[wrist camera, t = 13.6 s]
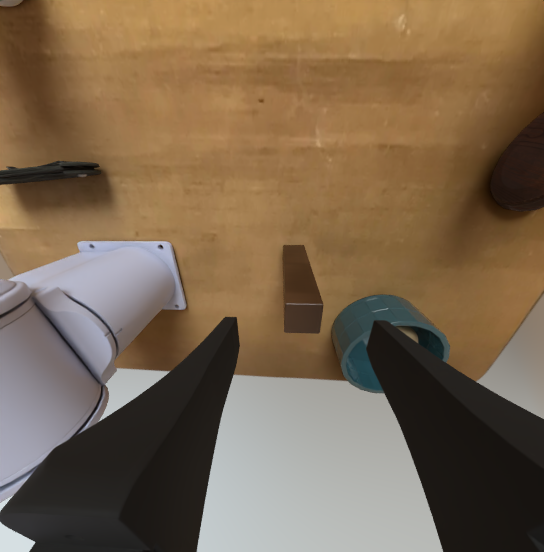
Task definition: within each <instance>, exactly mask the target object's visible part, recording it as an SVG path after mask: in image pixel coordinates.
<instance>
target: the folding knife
mask: <svg viewBox="0 0 544 552" xmlns="http://www.w3.org/2000/svg"><path fill="white" fill-rule="evenodd" d="M57 163H58V164H57ZM96 167H100V166H99V165H98V164H97V163H88V162H66V161H56V162H53V163H50V164H46V165H42V166H37V167H28V168H20V169H18V168H15V167H6V168H8V169H9V170H1V171H0V185H2V184H17V183H28V182H37V181H47V180H56V179H65V178H74V177H86V176H91V175H99V174H101V171H98V170H94V168H96Z"/></svg>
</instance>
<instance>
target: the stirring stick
mask: <svg viewBox="0 0 544 552" xmlns="http://www.w3.org/2000/svg"><path fill="white" fill-rule="evenodd" d="M283 291H284V332H285V333H320V327H321V320H322V312H323V302H322V299H321V296H320V293H319V290H318V287H317V284H316V281H315V278H314V275H313V272H312V269H311V266H310V263H309V260H308V257H307V253H306V250H305V247H304V245H284V246H283Z"/></svg>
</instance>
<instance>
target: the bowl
mask: <svg viewBox="0 0 544 552" xmlns="http://www.w3.org/2000/svg"><path fill="white" fill-rule="evenodd" d="M374 320H386V321H388V322H389V323H391V324H392V325H394V326H409V327H411V328H412V329H413V330H414V331H415V332H416V334H417V336H418V344H420V345H421V346H422V347H424V348H425V349H427V350H428V351H430V352H431V353H432V354H434V355H435V356H437V357H438V358H440V359H441V360H443V361H444V362H447V360H448V358H449V352H450V345H449V343H448V340H447V338H446V336H445V335H444V334H443V333H442V332H441V331H440V330H439V329H438V328H437V327H436V326H435V325H434V324H433V323H432V322H431V321H430V320H429V319H428V318H427V317H426V316H425V315H424V314H423V313H421V312H420V311H419V310H418V309H417V308H416V307H415V306H413V305H412V304H411V303H410V302H409V301H407V300H405V299H403V298H401V297H398V296H393V295H374V296H369V297H365V298H363V299H360V300H358V301H356V302H354V303H352V304H350V305H349V306H347V307H346V308H345V309H344V310H343V311H342V312H341V313H340V314H339V315H338V316H337V318H336V320H335V321H334V324H333V327H332V333H331V334H332V340H333V344H334V347H335V351H336V354H337V357H338V360H339V363H340V366H341V370H342V373H343V375H344V377H345V378H346V379H347V380H348V381H349V383H351V384H352V385H353V386H355V387H357V388H359V389H361V390H364V391H368V392H372V393H384V391H383V389H382V387H381V385H380V383H379V381H378V379H377V377H376V375H375V373H374V371H373V368H372V366H371V363H370V360H369V357H368V354H367V351H366V347H367V343H368V340H369V336H370V333H371V329H372V326H373V322H374Z"/></svg>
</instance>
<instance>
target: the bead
mask: <svg viewBox="0 0 544 552" xmlns="http://www.w3.org/2000/svg"><path fill="white" fill-rule="evenodd" d="M395 327H397V328H398V329H399V330H401V331H402V332H403V333H405V334H406V335H407V336H409V337H410V338H412V339H413V340H414V341H416V342H417V343H418V336H417V334H416V332H415V331H414V330H413V329H412V328H411V327H409V326H395Z"/></svg>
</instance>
